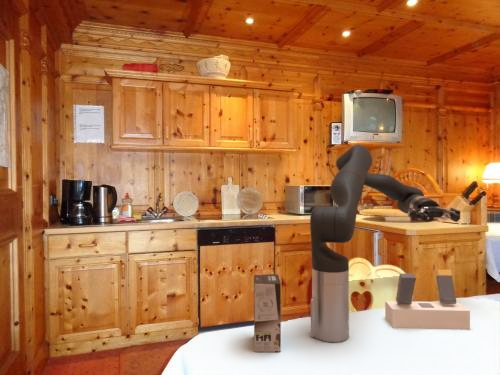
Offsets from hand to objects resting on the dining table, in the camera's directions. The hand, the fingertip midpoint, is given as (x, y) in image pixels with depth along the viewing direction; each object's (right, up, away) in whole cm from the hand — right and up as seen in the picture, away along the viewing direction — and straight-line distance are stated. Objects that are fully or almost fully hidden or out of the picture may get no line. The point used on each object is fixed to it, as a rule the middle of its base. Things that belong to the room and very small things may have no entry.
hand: (441, 218), depth 110 cm
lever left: (-14, -23, -7) cm, 28 cm away
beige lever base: (-8, -28, -8) cm, 31 cm away
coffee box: (-53, -29, -19) cm, 63 cm away
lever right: (-2, -23, -8) cm, 24 cm away
